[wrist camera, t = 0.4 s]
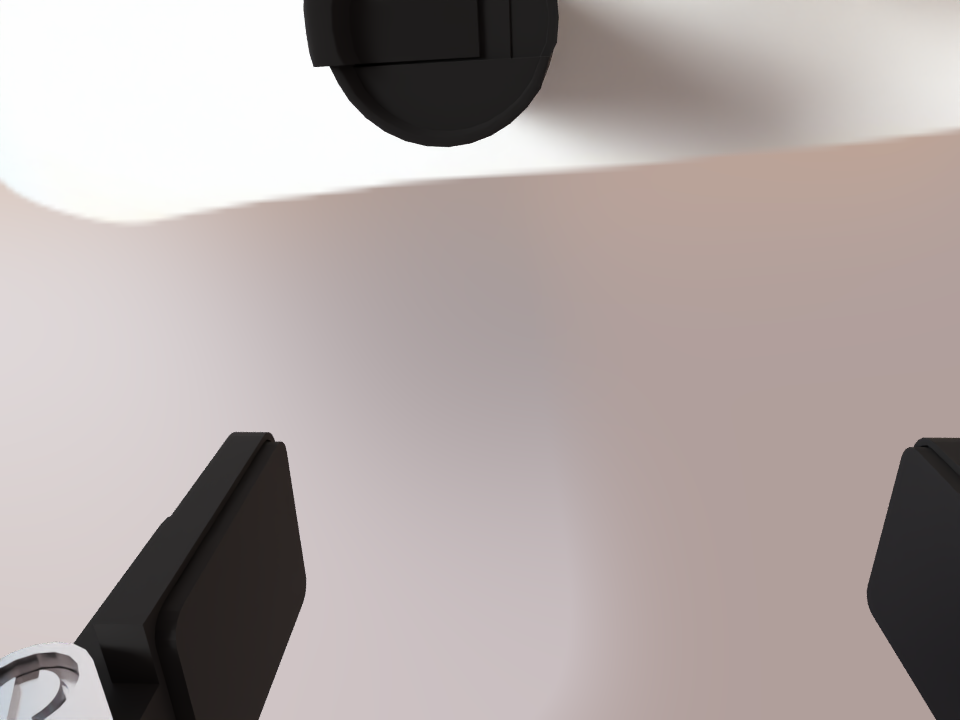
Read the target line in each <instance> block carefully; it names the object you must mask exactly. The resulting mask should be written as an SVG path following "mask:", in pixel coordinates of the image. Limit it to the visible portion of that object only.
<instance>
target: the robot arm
mask: <svg viewBox="0 0 960 720" xmlns="http://www.w3.org/2000/svg"><path fill="white" fill-rule="evenodd" d="M305 592H306V574H305V567H304V561H303V554H302V548H301V541H300V535H299V528H298V522H297V516H296V509H295V504H294V496H293V489H292V483H291V477H290V471H289V463H288V457H287V451H286V447H285V444H284V443H283V442H275V440H274V438H273V436H272V434H271V433H269V432H234V433H232V434H231V435H230V436H229V437H228V438H227V439H226V441H225V442H224V444H223V445H222V446H221V448H220V449H219V450H218V452H217V453H216V455H215V456H214V457H213V459H212V460H211V461H210V463H209V464H208V466H207V467H206V468H205V470H204V471H203V473H202V474H201V475H200V477H199V478H198V479H197V481H196V482H195V484H194V485H193V486H192V488H191V489H190V491H189V492H188V493H187V495H186V496H185V497H184V499H183V500H182V501H181V503H180V504H179V506H178V507H177V508H176V510H175V511H174V513H173V514H172V515H171V516H170V517H168V518H167V519H166V520H165V521H164V522H163V523H162V524H161V525H160V526H159V528H158V529H157V530H156V532H155V533H154V534H153V536H152V537H151V539H150V540H149V541H148V543H147V544H146V545H145V547H144V548H143V549H142V551H141V552H140V554H139V555H138V556H137V558H136V559H135V560H134V562H133V563H132V564H131V566H130V567H129V569H128V570H127V571H126V573H125V574H124V575H123V577H122V578H121V580H120V581H119V582H118V584H117V585H116V586H115V588H114V589H113V590H112V592H111V593H110V595H109V596H108V597H107V599H106V600H105V601H104V603H103V604H102V605H101V607H100V608H99V609H98V611H97V612H96V614H95V615H94V616H93V618H92V619H91V620H90V622H89V623H88V624H87V626H86V627H85V629H84V630H83V631H82V633H81V634H80V635H79V637H78V638H77V640H76V641H75V642H74V644H71V643H62V642H52V643H45V644H38V645H33V646H30V647H27V648H24V649H21V650H18V651H15V652H13V653H11V654H9V655H7V656H5V657H3V658H1V659H0V720H258V719H259V717H260V714H261V712H262V709H263V706H264V704H265V701H266V698H267V696H268V693H269V690H270V688H271V685H272V682H273V680H274V677H275V675H276V672H277V670H278V667H279V664H280V662H281V659H282V656H283V654H284V651H285V649H286V646H287V643H288V641H289V638H290V635H291V633H292V630H293V627H294V625H295V622H296V620H297V617H298V614H299V612H300V609H301V607H302V604H303V601H304V597H305ZM867 600H868V605H869V608H870V611H871V613H872V615H873V617H874V618H875V620H876V622H877V623H878V625H879V627H880V628H881V630H882V631H883V633H884V635H885V636H886V638H887V640H888V641H889V643H890V644H891V646H892V648H893V650H894V651H895V653H896V655H897V656H898V658H899V659H900V661H901V662H902V664H903V666H904V668H905V669H906V671H907V673H908V674H909V676H910V677H911V679H912V681H913V682H914V684H915V686H916V687H917V689H918V691H919V692H920V694H921V695H922V697H923V699H924V700H925V702H926V703H927V705H928V707H929V709H930V710H931V712H932V714H933V715H934V717H935V719H936V720H960V438H922V439H920V440H918V441H917V442H916V444H915V445H914V447H909V448H907V449H906V450H905V451H904V452H903V455H902V457H901V461H900V465H899V469H898V473H897V476H896V481H895V484H894V488H893V492H892V496H891V499H890V503H889V507H888V511H887V514H886V519H885V522H884V526H883V530H882V534H881V537H880V541H879V545H878V549H877V553H876V556H875V561H874V564H873V568H872V572H871V576H870V580H869V583H868V588H867Z"/></svg>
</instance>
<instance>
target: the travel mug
mask: <svg viewBox="0 0 960 720" xmlns="http://www.w3.org/2000/svg"><path fill="white" fill-rule="evenodd" d="M304 18H305V27H306V35H307V41H308V47H309V53H310V56H311V60H312V63H313V66H314V67H323V66H330V68H331V70H332V72H333V74H334V76H335V78H336V80H337V82H338V84H339V85H340V87H341V88H342V90H343V92H344V93H345V95H346V96H347V98H348V99H349V101H350V102H351V103H352V104H353V105H354V106H355V107H356V108H357V109H358V110H359V111H360V112H361V113H362V114H363V115H364V116H365V118H367V119H368V120H370V121H371V122H372V123H374V124H375V125H376V126H378V127H379V128H381V129H382V130H383V131H385V132H387V133H389V134H391V135H394V136H396V137H398V138H400V139H402V140H404V141H408V142H412V143H416V144H420V145H424V146H436V147H452V146H458V145H464V144H470V143H473V142H476V141H478V140H481V139H483V138H486V137H489V136H491V135H493V134H494V133H496V132H498V131H499V130H501V129H502V128H504V127H505V126H507V125H509V124H510V123H511V122H512V121H513V120H514V119H515V118H517V117H518V116H519V115H520V114H521V113H522V112H523V111H524V110H525V109H526V108H527V107H528V105H529V104H530V103H531V101H532V100H533V98H534V97H535V96H536V94H537V93H538V91H539V90H540V89H541V86H542V82H543V80H544V77H545V75H546V72H547V70H548V67H549V65H550V61H551V57H552V53H553V50H554V47H555V45H556V43H557V32H558V20H559V16H558V5H557V0H304Z"/></svg>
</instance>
